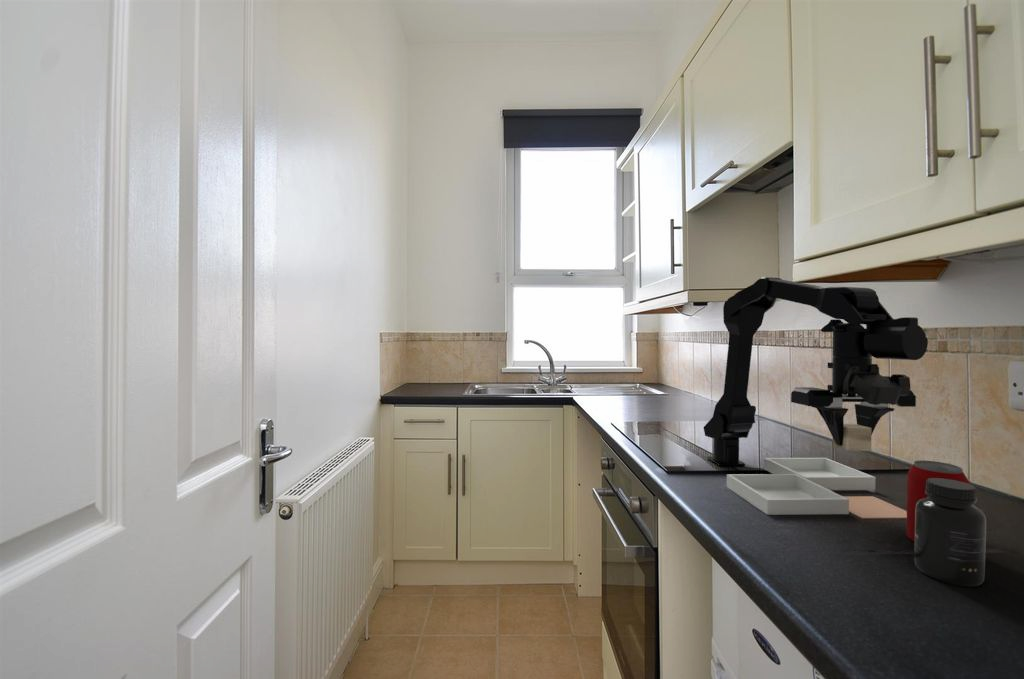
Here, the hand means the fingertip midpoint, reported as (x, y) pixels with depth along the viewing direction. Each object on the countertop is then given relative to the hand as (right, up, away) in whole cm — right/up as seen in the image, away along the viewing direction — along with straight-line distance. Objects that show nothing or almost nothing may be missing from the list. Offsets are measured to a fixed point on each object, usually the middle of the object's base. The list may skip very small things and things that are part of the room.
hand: (851, 445), depth 84 cm
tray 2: (+4, -11, +16) cm, 20 cm away
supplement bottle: (-3, -12, -22) cm, 26 cm away
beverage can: (+2, -12, -14) cm, 19 cm away
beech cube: (0, -1, 0) cm, 1 cm away
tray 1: (-10, -11, +3) cm, 16 cm away
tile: (+3, -11, 0) cm, 12 cm away
